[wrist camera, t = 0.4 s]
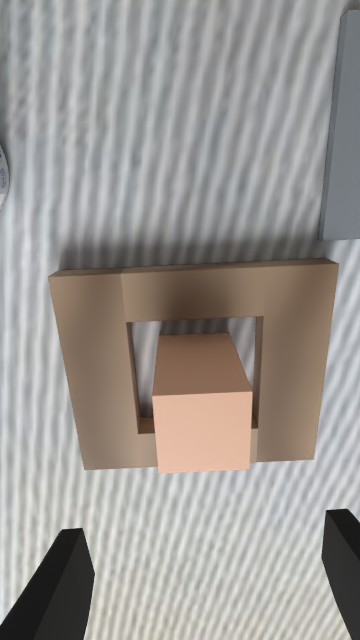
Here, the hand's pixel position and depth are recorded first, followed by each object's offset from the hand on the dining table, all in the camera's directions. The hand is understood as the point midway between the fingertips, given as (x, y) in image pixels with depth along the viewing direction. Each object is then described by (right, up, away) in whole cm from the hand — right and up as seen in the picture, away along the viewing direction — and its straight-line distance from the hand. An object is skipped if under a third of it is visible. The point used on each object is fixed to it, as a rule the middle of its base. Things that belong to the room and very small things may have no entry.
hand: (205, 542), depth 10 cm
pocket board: (0, +4, +10) cm, 10 cm away
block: (0, +4, +10) cm, 10 cm away
